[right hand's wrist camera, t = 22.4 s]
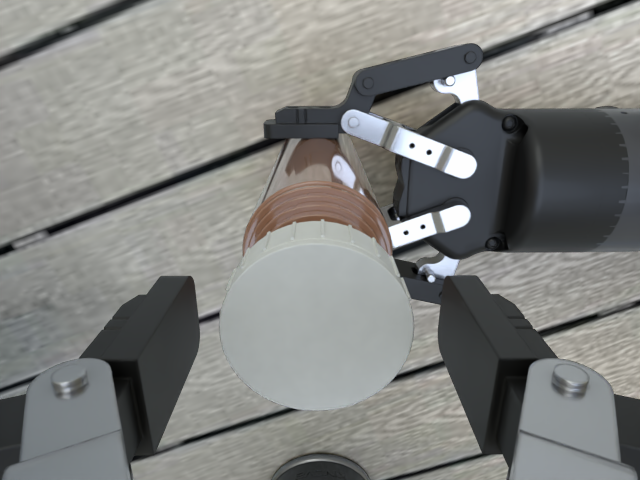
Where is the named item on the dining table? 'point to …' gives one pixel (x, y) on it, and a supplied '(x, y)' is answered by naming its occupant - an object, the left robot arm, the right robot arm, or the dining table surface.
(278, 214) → the bottle
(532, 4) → the dining table surface
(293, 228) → the cap
